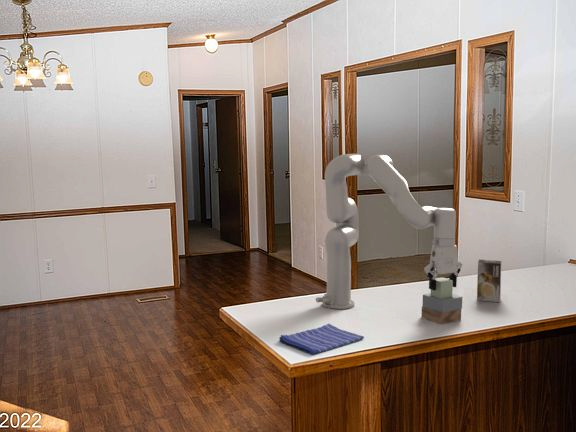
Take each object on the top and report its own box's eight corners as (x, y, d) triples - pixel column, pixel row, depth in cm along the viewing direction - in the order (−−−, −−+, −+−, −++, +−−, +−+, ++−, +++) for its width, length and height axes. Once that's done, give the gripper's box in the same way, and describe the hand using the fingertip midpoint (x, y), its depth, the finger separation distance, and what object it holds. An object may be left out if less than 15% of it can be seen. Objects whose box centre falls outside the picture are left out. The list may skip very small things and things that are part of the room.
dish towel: (276, 343, 202) (276, 334, 202) (328, 328, 218) (328, 320, 217) (312, 357, 190) (312, 348, 189) (364, 340, 205) (364, 332, 204)
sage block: (440, 298, 223) (441, 282, 222) (430, 294, 228) (431, 278, 227) (452, 296, 226) (452, 280, 225) (442, 293, 230) (442, 277, 230)
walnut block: (440, 325, 221) (440, 313, 220) (421, 318, 230) (421, 306, 229) (460, 321, 226) (461, 309, 225) (441, 314, 234) (442, 302, 234)
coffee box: (500, 298, 255) (502, 260, 253) (499, 302, 249) (501, 263, 247) (477, 296, 258) (479, 259, 256) (476, 300, 252) (477, 261, 250)
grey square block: (442, 312, 221) (443, 300, 220) (422, 306, 229) (422, 294, 228) (461, 308, 226) (462, 296, 225) (441, 302, 234) (441, 290, 234)
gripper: (432, 245, 217) (431, 293, 219) (469, 241, 225) (467, 287, 227) (418, 242, 223) (417, 288, 226) (454, 238, 231) (453, 283, 234)
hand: (442, 288), depth 226 cm, fingers open, 9 cm apart
